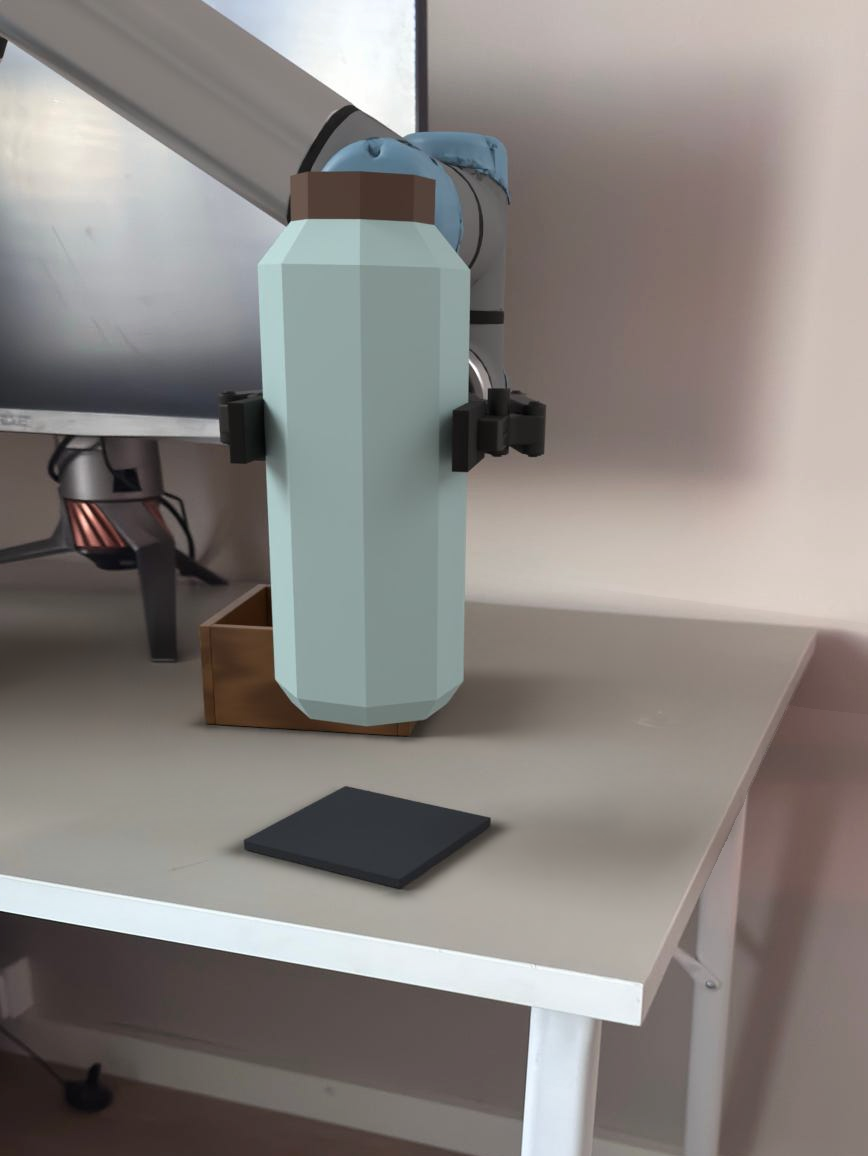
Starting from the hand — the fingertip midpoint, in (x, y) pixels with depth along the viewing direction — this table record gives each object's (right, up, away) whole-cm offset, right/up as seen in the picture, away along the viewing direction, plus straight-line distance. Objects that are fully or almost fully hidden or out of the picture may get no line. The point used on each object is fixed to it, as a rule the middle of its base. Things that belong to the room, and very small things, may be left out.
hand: (347, 437), depth 59 cm
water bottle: (0, -11, +10) cm, 15 cm away
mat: (0, -18, +13) cm, 22 cm away
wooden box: (-5, -8, +37) cm, 38 cm away
